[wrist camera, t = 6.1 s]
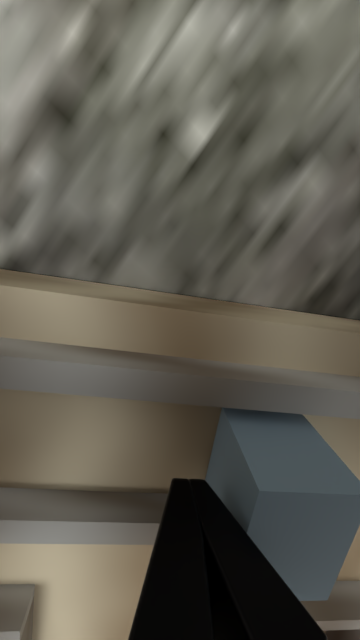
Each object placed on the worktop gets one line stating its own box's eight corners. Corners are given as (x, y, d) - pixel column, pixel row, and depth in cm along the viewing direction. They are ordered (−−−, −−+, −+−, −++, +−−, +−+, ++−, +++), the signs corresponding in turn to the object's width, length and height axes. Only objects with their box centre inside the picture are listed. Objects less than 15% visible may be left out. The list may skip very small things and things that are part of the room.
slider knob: (202, 492, 9) (226, 602, 6) (221, 406, 8) (259, 490, 6) (275, 495, 9) (327, 600, 7) (301, 413, 9) (372, 495, 6)
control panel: (-123, 653, 12) (-210, 790, 9) (-191, 241, 8) (-397, 248, 5) (310, 635, 16) (350, 733, 13) (439, 332, 11) (552, 370, 8)
